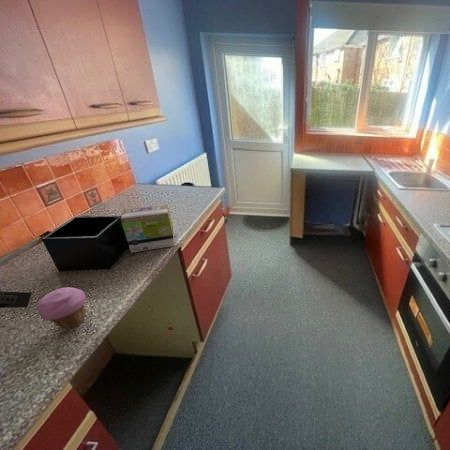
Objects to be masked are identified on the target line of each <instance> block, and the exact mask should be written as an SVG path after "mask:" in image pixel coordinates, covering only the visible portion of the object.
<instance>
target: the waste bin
mask: <svg viewBox="0 0 450 450" xmlns="http://www.w3.org/2000/svg"><path fill="white" fill-rule="evenodd" d="M121 217H122V215H79V216H73V217H72V218H70V219H69V220H68V221H66V222H65V223H63V224H62V225H60V226H58V227H57V228H56V229H54V230H53V231H51V232H49V233H48V234H46V235H45V236H43V237H42V238H41V241H42V244H43V245H44V247H45V249H46V251H47V253H48V255H49V256H50V259H51V260H52V263H53V264H54V266H55V268H56V270H57V272H79V271H80V272H81V271H103V270H104V271H105V270H111V269H112V267H113V266H114V265H115V264H116V263H117V262H118V261H119V260H120V258H122V257H123V255H124V254H125V253H126V252H127V251H128V249H130V248H129V245H128V242H127V239H126V236H125V232H124V229H123V226H122V223H121Z"/></svg>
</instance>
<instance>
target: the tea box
mask: <svg viewBox="0 0 450 450" xmlns="http://www.w3.org/2000/svg"><path fill="white" fill-rule="evenodd" d="M121 216H122V217H121V223H122V226H123V229H124V232H125V236H126V239H127V242H128V245H129V248H128V249H129V251H130V253H131V254H133V253H138V252H145V251H150V250H151V251H152V250H157V249H163V248H164V249H165V248H170V247H175V245H176V244H175V231H174V226H173V221H172V216H171V211H170V206H169V203H160V204H150V205H142V206H141V205H140V206H131V207H124V208H123V211H122V214H121Z"/></svg>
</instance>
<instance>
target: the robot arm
mask: <svg viewBox="0 0 450 450" xmlns="http://www.w3.org/2000/svg"><path fill="white" fill-rule="evenodd" d="M32 294H33V292H29V291H2V290H0V309H16V308H17V309H18V308H19V309H20V308H22V309H23V308H28V307H29V303H30V301H31V298H32Z"/></svg>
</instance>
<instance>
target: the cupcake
mask: <svg viewBox="0 0 450 450" xmlns="http://www.w3.org/2000/svg"><path fill="white" fill-rule="evenodd" d="M86 297H87V296H86V293H85V291H84V290H82V289H80V288H76V287H69V286H68V287H67V286H66V287H60V288H57V289H55V290H53V291H51V292H48V293H47V294H45V295H44V296H43V297H42V298H41V299H40V300H39V302H38V303H37V312H38V314H39V316H40V318H42V319H43V320H45V321H50V322H52V324H55V325H56V326H58V327H59V328H61V329H66V328H70V327H76V326H80V324H82V322H83V320H84V316H85V315H86V312H87V311H86V307H85V302H86Z"/></svg>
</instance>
